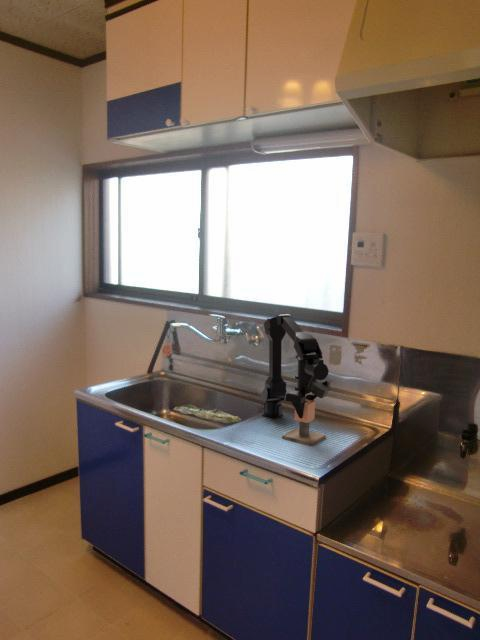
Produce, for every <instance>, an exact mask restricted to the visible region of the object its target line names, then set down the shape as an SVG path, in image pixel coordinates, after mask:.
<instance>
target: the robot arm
mask: <svg viewBox="0 0 480 640" xmlns="http://www.w3.org/2000/svg"><path fill="white" fill-rule="evenodd" d="M263 326H264V327H263V328H264V334H265V336H266V337H267V338H268V343H269V344H268V350H269V351H268V354H269V356H268V377H267V379H266V380H265V382H264V388H263V390H262V391H261V393H260V399H261V401H262V402H263V413H262V414H261V416H264V417H268V418H272V419H277V418H279V417H281V416H284V413H283V405H282V402H284V401H285V402H289V403H291V404H292V406H293V407H294V411H295V410H296V412H297V414H298V416H299V418H302V417H303V411H304V405H305V404H306V403H307V402H308V401H306V400H305V399H307V400H311V401H315V400H317V398H319V399H324V398H326V397H327V396H328V393H329V392H330V391H331V383H330V381H328V380H327V379H326V378H327V377H328V375H329V367H328V366H327V364H325V363H324V359H323V352H322V349H321V348H320V345H319V341H318V340H317V338H315V337H314V336H313V335H312V334H309V333H306V332H304V330H303V329H302V328H301V327H300V326H299V325H298V324H297V322H296V321H295V320H294V319H293V316H292V315H291V314H289V313H286V314H279V315H276V316H274V317H271V318H269V317H268V318H267V319H266V320H265V321H264V322H263ZM286 335H288V336H289V337H290V339H291V340H292V341H293V348H294V350H295V352H296V355H295V359H297V374H296V375H294V376H295V377H294V379H295V380H297V381H296V384H297V385H296V386H295V387H294V390H291V391H290V392H287V382H286V381H284V379H283V377H282V351H283V350H282V348H283V347H282V345H283V344H282V341H283V339H284V338H285V336H286ZM325 379H326V380H325ZM323 380H324V381H323ZM322 381H323V382H322Z"/></svg>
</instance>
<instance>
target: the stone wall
mask: <svg viewBox="0 0 480 640" xmlns="http://www.w3.org/2000/svg"><path fill="white" fill-rule="evenodd" d="M173 410H174V411H176V412H180V413H181V414H185V415H191V414H192V415H195V416H196V417H198V418H202V419H207V420H210V421H216V422H220V423H224V424H233V423H238V422H240V421H242V418H240V416H237V415H232V414H230V413H226V412H224V411H222V410H221V409H218V408H214V409H204V408H201V407H199V408H198V407H196V406H195V405H192V404H183V405H179V406H175V407H174V408H173Z"/></svg>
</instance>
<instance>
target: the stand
mask: <svg viewBox="0 0 480 640" xmlns="http://www.w3.org/2000/svg"><path fill="white" fill-rule="evenodd" d="M298 422H299V425H298V427H295V428H293V429H291V430H290V431H288V432H286V433H285V434H283V435H282V436H281V437H282V439H285V440H286V441H287V440H288V441H292V442H295V443H299V444H303V445H308V446H312V447H313V446H315V445H316V444H318V443H320V442H321V441H323V440H325V439H326V438H327V437H326V436H327V435H326V434H324V433H321V432H317V431H314V430H313V431H312V430H310V422H309V423H305V422H300V421H298Z"/></svg>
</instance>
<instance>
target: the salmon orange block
mask: <svg viewBox="0 0 480 640" xmlns="http://www.w3.org/2000/svg"><path fill="white" fill-rule="evenodd" d="M305 400H306V401H308V402H307V403H306V404H305V405H304V411H303V417H302V418H299V416H298V414H297V412H296V410H295V409H294V421H296V422H299V421H300V422H305V423H309V424H310V422H312V421H313V420H315V417H316V416H315V413H316V401H315V400H314V401H311V400H307V399H305Z"/></svg>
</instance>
